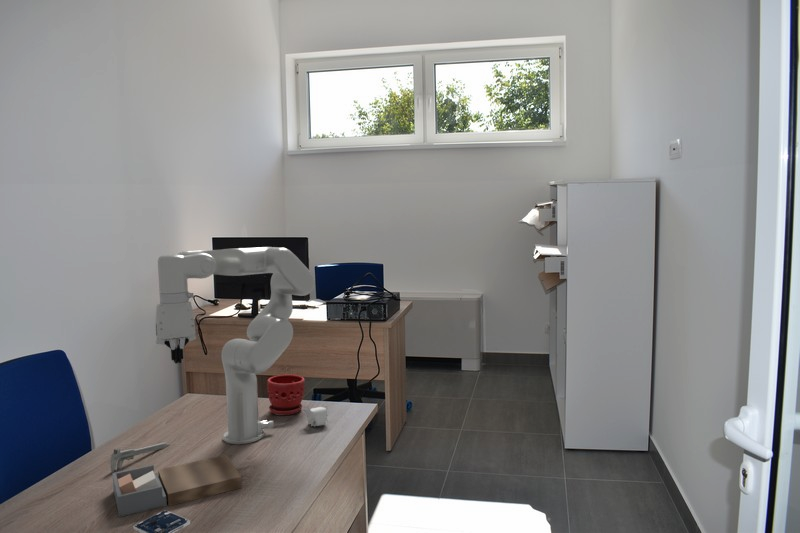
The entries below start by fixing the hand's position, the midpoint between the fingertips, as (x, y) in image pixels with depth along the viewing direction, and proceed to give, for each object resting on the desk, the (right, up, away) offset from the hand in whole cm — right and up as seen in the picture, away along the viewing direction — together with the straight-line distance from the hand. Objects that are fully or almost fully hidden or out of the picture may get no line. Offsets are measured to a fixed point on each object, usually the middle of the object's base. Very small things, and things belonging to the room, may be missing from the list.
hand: (177, 362), depth 169 cm
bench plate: (+10, -30, -12) cm, 34 cm away
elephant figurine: (+36, -26, +29) cm, 53 cm away
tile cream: (0, -29, -18) cm, 35 cm away
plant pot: (+23, -25, +44) cm, 55 cm away
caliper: (-12, -29, +5) cm, 32 cm away
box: (-2, -31, -19) cm, 37 cm away
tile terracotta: (-3, -28, -20) cm, 35 cm away
